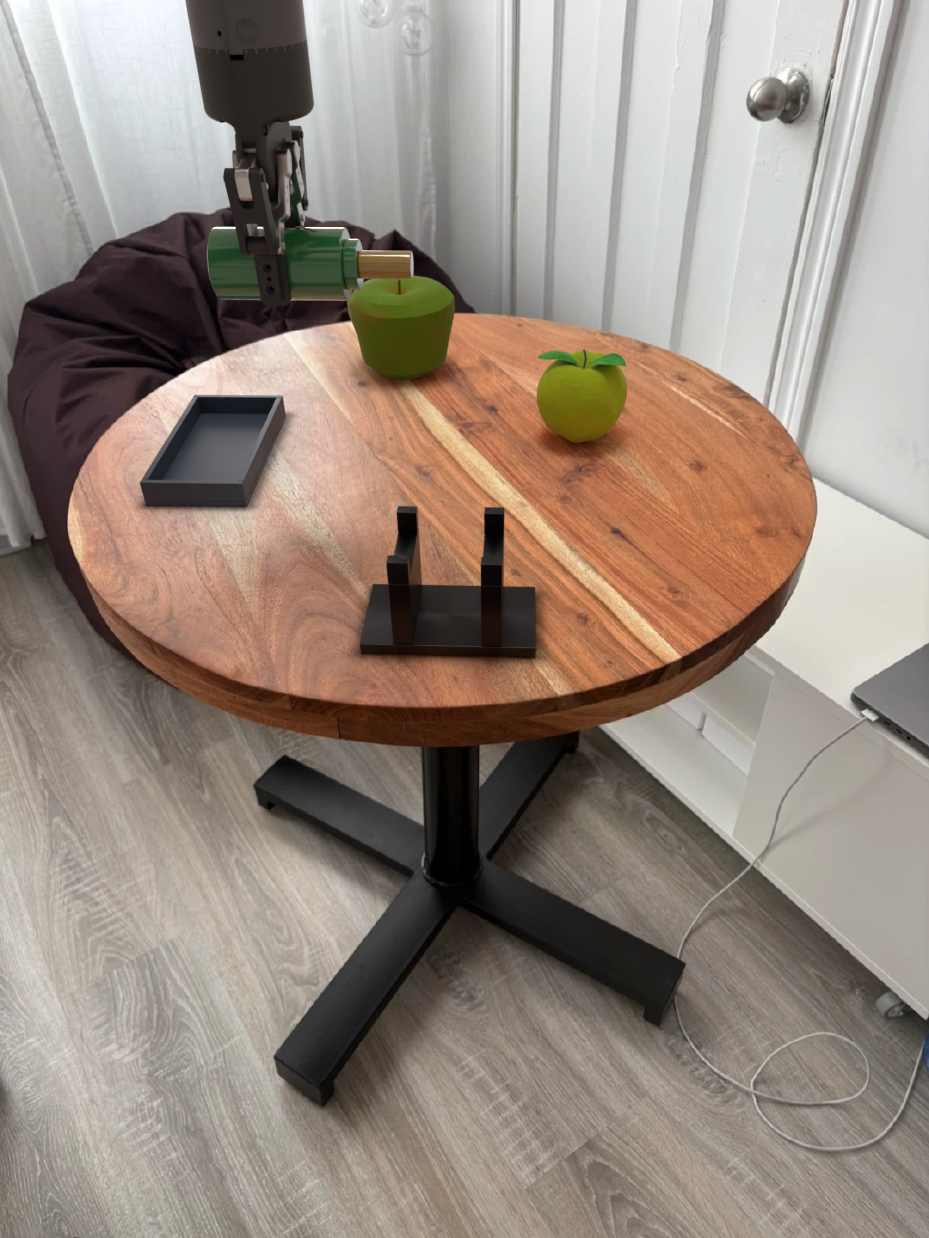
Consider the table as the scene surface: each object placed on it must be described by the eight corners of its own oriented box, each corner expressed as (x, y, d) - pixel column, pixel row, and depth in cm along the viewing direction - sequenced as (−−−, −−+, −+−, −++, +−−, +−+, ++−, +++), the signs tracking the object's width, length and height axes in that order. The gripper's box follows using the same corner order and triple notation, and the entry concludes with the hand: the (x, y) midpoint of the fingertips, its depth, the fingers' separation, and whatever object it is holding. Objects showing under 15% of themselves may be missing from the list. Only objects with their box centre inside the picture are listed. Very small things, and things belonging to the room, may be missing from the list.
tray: (246, 506, 91) (242, 483, 90) (145, 505, 92) (139, 482, 90) (286, 416, 106) (282, 395, 104) (198, 415, 106) (194, 394, 105)
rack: (360, 653, 74) (349, 562, 68) (373, 592, 80) (364, 504, 74) (535, 657, 73) (539, 566, 67) (535, 595, 79) (538, 506, 74)
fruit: (606, 464, 96) (614, 374, 90) (523, 446, 99) (526, 358, 93) (633, 426, 103) (642, 339, 96) (555, 410, 106) (559, 325, 99)
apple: (473, 361, 117) (472, 271, 109) (418, 399, 109) (413, 304, 101) (392, 341, 122) (386, 254, 115) (335, 376, 114) (324, 284, 107)
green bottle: (216, 310, 71) (201, 241, 67) (233, 284, 75) (220, 217, 71) (410, 312, 70) (405, 242, 66) (417, 285, 74) (413, 218, 70)
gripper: (223, 21, 67) (260, 259, 78) (158, 53, 56) (212, 326, 67) (325, 20, 66) (348, 260, 77) (280, 52, 55) (314, 327, 66)
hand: (285, 289), depth 72 cm, fingers closed on green bottle, 5 cm apart
